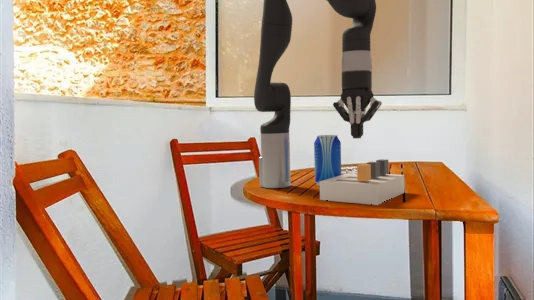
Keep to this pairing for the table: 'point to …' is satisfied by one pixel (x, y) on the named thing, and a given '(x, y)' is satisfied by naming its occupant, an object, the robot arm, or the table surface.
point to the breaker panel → (361, 189)
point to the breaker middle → (375, 169)
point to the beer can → (327, 157)
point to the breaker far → (383, 166)
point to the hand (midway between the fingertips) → (357, 138)
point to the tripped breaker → (364, 172)
